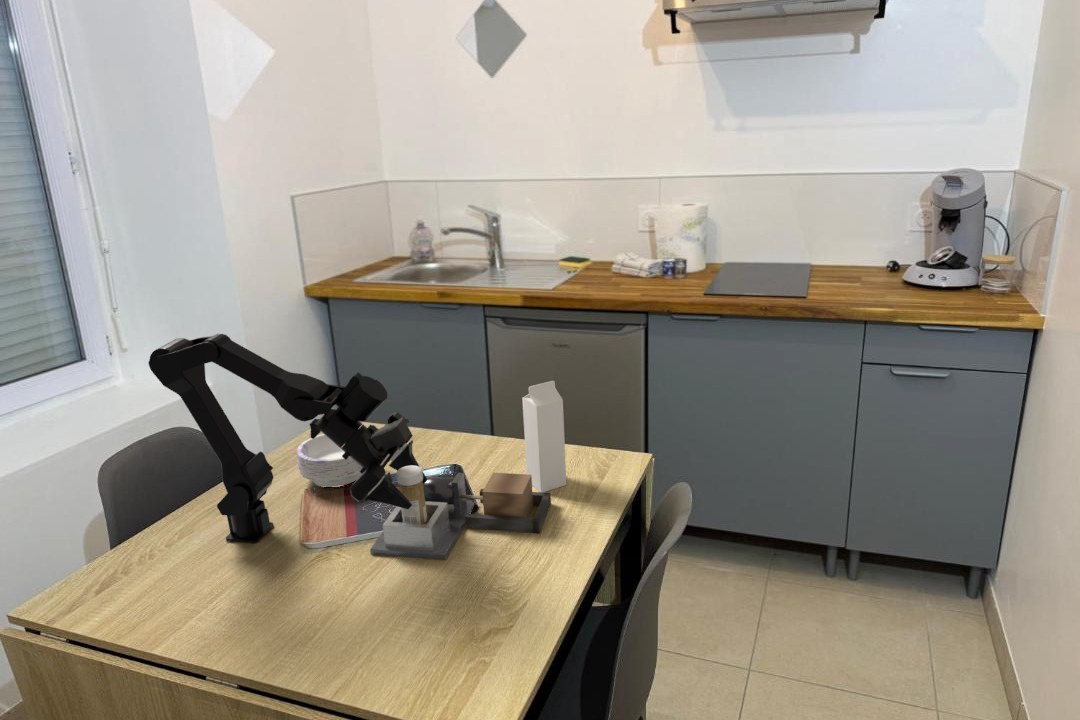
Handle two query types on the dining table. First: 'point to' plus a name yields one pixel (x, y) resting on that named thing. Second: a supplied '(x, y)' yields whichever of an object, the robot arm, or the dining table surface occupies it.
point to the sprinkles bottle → (412, 494)
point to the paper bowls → (326, 463)
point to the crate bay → (510, 505)
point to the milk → (544, 436)
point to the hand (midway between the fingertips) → (418, 494)
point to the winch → (429, 522)
